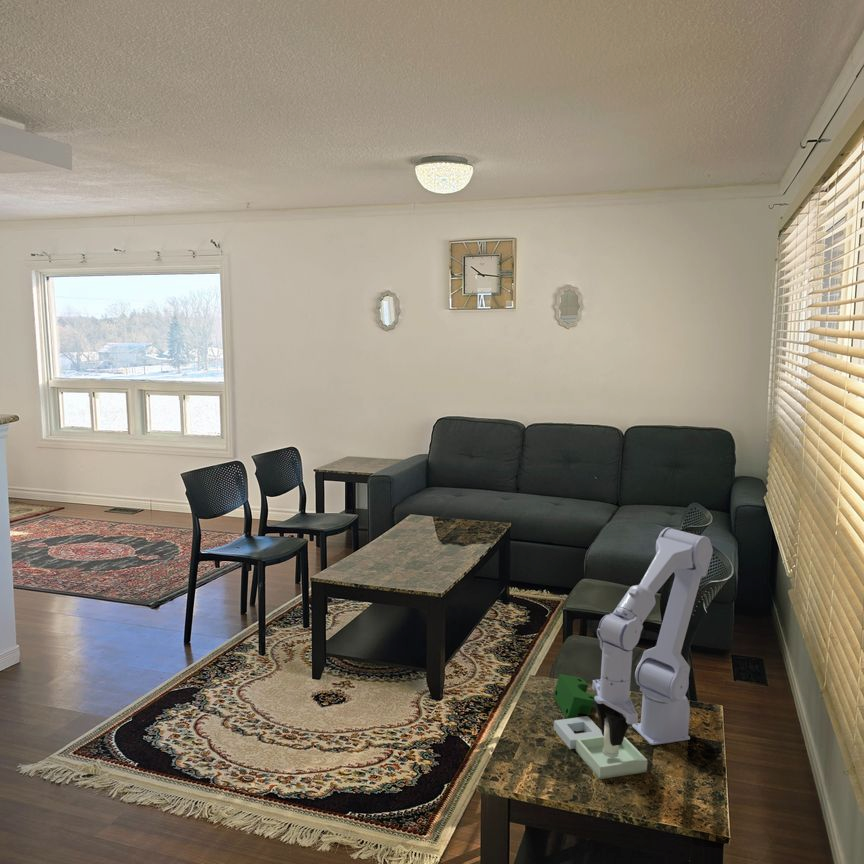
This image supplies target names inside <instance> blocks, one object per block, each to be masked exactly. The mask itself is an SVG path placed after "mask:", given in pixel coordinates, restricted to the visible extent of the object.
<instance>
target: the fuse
mask: <svg viewBox="0 0 864 864" xmlns="http://www.w3.org/2000/svg"><path fill="white" fill-rule="evenodd" d="M604 724H605V725H604V742H603V754H604V755H605V756H607V757H611V758H614V757H617V756H618V755H619V745H616V746H612V745H611V742H610V729H609V723H608V719H607V717H606V718H605V721H604Z"/></svg>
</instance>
